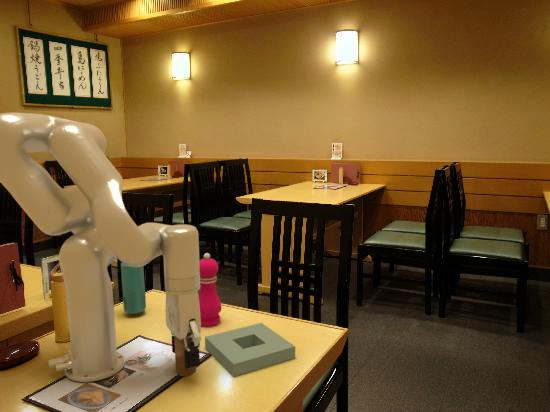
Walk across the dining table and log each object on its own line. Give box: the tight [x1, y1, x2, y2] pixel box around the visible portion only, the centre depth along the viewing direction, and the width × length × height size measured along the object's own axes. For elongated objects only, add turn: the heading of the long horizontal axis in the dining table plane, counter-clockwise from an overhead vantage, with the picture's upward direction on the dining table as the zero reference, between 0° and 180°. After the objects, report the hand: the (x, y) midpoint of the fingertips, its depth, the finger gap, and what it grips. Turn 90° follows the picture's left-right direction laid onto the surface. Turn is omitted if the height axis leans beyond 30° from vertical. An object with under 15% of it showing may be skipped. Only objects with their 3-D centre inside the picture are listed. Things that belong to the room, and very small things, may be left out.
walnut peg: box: [173, 332, 197, 377], centre depth 104 cm, size 4×4×9 cm
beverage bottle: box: [120, 262, 147, 314], centre depth 135 cm, size 6×7×20 cm
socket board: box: [204, 322, 296, 378], centre depth 113 cm, size 16×16×3 cm
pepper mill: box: [198, 252, 222, 328], centre depth 129 cm, size 7×7×20 cm
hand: (185, 358), depth 104 cm, fingers open, 7 cm apart
